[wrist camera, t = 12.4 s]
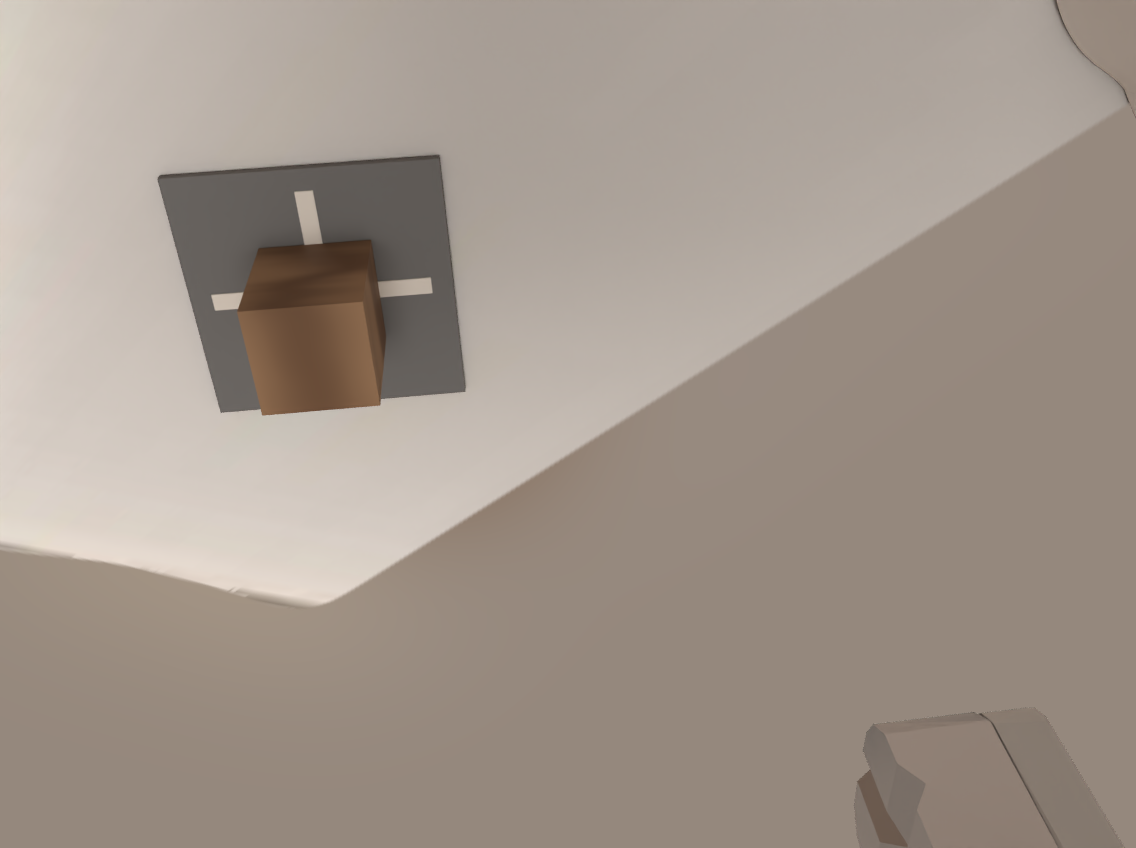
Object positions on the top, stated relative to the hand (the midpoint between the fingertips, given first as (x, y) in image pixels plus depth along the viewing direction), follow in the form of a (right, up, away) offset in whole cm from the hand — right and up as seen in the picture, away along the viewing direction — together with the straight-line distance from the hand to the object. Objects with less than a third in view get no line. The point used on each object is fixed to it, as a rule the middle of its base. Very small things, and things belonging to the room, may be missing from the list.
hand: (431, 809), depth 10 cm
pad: (-10, +10, +39) cm, 42 cm away
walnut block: (-10, +9, +39) cm, 41 cm away
